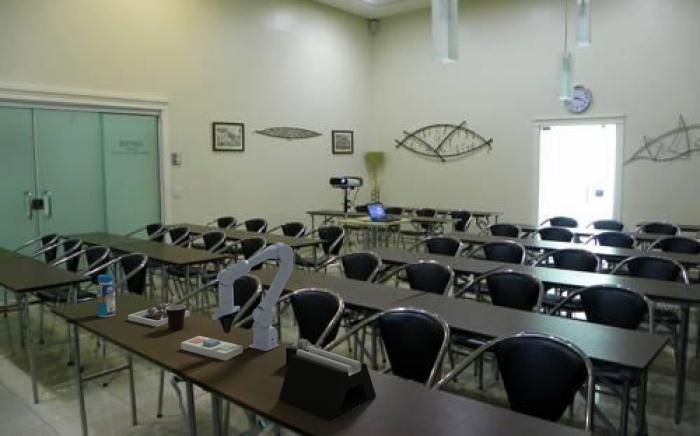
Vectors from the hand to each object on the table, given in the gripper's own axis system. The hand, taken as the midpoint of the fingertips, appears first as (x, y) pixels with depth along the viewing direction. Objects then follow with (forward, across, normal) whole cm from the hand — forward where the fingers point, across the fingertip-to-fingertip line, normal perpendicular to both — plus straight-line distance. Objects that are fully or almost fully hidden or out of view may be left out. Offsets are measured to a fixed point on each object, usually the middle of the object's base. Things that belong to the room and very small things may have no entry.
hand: (226, 332), depth 221 cm
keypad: (+8, +3, -6) cm, 10 cm away
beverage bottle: (+8, -9, -86) cm, 86 cm away
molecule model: (+8, -19, -61) cm, 65 cm away
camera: (+8, -4, +36) cm, 37 cm away
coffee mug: (+8, -12, -40) cm, 43 cm away
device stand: (+8, +17, +58) cm, 61 cm away
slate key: (+6, +3, -6) cm, 8 cm away
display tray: (+8, -18, -59) cm, 62 cm away
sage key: (+7, +3, +2) cm, 8 cm away
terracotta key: (+7, +3, -14) cm, 16 cm away
